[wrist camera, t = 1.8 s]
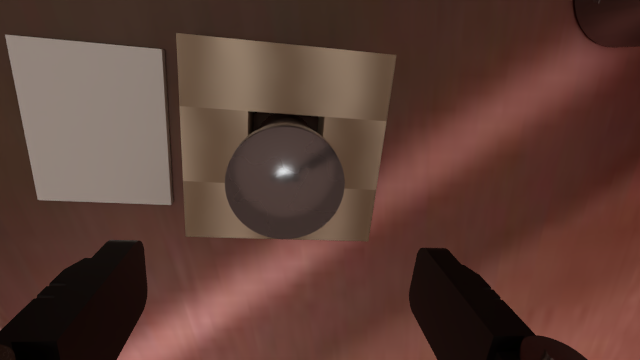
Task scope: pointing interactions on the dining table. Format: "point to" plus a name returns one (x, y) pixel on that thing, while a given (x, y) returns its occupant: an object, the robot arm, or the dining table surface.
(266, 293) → the dining table surface
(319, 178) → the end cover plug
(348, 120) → the bore housing
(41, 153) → the mat
